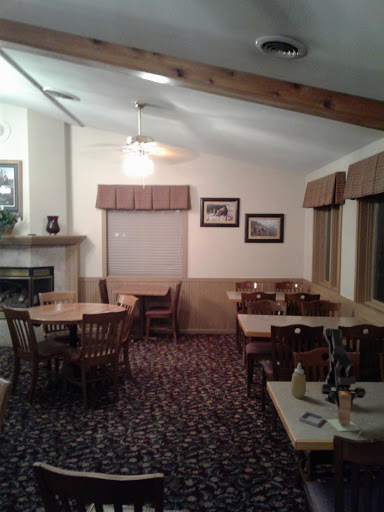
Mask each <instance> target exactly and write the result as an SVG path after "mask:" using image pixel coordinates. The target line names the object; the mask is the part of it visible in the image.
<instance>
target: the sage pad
mask: <svg viewBox="0 0 384 512" xmlns="http://www.w3.org/2000/svg"><path fill="white" fill-rule="evenodd" d="M326 421H327V422H328V423H329V424H330V425H331V426H332V427H333V428H334V429H336V431H338V432H339V433H343V432H355V431H360V430H361V429H360V428H359V426H357V425H356V424H355V423H354V422H352V421H351V420H350V424H344V423H339V421H338V418H331V419H327V420H326Z"/></svg>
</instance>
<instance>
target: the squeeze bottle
mask: <svg viewBox="0 0 384 512" xmlns="http://www.w3.org/2000/svg"><path fill="white" fill-rule="evenodd" d="M306 383H307V382H306V374H305V371H304V369H302V364H301V362H298V363H297V367H296V368H294V372H293V373H292V377H291V385H290V392H291V395H292V397H293V398H298V399H299V398H300V399H303V398H304V397H305V394H306V391H307V384H306Z"/></svg>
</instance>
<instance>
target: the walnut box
mask: <svg viewBox="0 0 384 512" xmlns="http://www.w3.org/2000/svg"><path fill="white" fill-rule="evenodd" d="M338 399H339V406H340V409H338V408H337V418H336V419H338V421H339V423H344V424H350V421H351V411H352V408H351V394H350V392H346V391H339V398H338ZM350 410H351V411H350Z"/></svg>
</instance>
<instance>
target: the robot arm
mask: <svg viewBox="0 0 384 512" xmlns="http://www.w3.org/2000/svg"><path fill="white" fill-rule="evenodd" d="M323 334H324V337H325V341H326V343H327V344H328V351H329V352H328V354H329V355H328V357H329V373H328V374H327V376H326V379H325V383H323V384H322V385H321V389H320V390H321V391H320V392H321V394H322V395H326V396H327V397H326V398H324V400H325V401H327V402H329V403H333V404H335V405H336V407H337V410H338V409H340V406H339V399H338V398H339V391H346V392H350V394H351V410H350V412H351V411H352V407H353V402H354V400H356V399H364V398H365V397H366V394H367V391H366V389H365V388H364V387H359V386H358V387H355V389H351V386H352V385H355V384H356V378H355V376H349V374H348V373H349V371H350V368H351V365H352V359H351V357H350V356H349V355H348V352H347V350H346V349H345V348H344V346H343V342H342V337H343V336H342V335H343V331H342V330H341V329H339V328H330V327H327V328H326V329H324V331H323Z"/></svg>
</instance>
